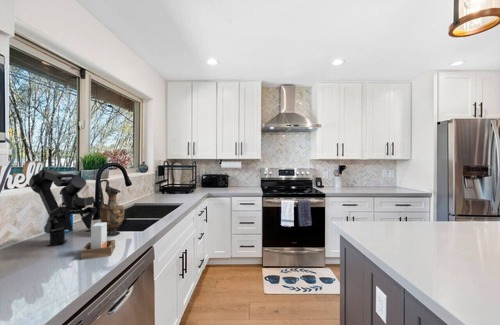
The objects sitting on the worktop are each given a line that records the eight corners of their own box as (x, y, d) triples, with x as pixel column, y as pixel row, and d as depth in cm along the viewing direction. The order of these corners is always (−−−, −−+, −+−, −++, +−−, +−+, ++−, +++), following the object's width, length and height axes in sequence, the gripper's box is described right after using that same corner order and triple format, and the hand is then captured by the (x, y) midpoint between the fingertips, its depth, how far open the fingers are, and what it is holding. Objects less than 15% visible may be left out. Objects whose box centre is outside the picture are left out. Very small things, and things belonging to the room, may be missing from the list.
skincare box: (101, 253, 102) (101, 225, 102) (90, 254, 101) (90, 226, 101) (107, 248, 108) (107, 222, 108) (96, 249, 107) (96, 222, 107)
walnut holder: (88, 250, 107) (88, 242, 107) (115, 247, 111) (115, 239, 111) (81, 259, 97) (81, 251, 97) (111, 255, 101) (110, 247, 101)
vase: (121, 236, 127) (120, 179, 126) (94, 238, 124) (94, 180, 124) (127, 230, 138) (126, 178, 138) (103, 231, 135) (102, 178, 135)
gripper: (66, 188, 100) (76, 222, 96) (101, 191, 118) (111, 219, 114) (44, 201, 101) (54, 235, 97) (83, 202, 119) (92, 231, 115)
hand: (80, 229), depth 106 cm, fingers open, 9 cm apart
